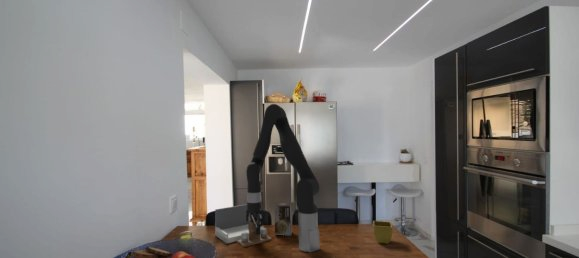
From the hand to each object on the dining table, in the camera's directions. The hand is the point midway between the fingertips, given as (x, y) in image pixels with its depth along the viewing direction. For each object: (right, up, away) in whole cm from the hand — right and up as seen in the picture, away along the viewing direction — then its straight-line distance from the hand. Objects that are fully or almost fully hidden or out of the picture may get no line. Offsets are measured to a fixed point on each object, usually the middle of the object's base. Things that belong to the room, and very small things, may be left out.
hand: (254, 232), depth 134 cm
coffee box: (+15, -5, +10) cm, 18 cm away
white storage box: (-9, -5, +9) cm, 14 cm away
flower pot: (+66, -3, -4) cm, 66 cm away
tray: (0, -5, 0) cm, 5 cm away
